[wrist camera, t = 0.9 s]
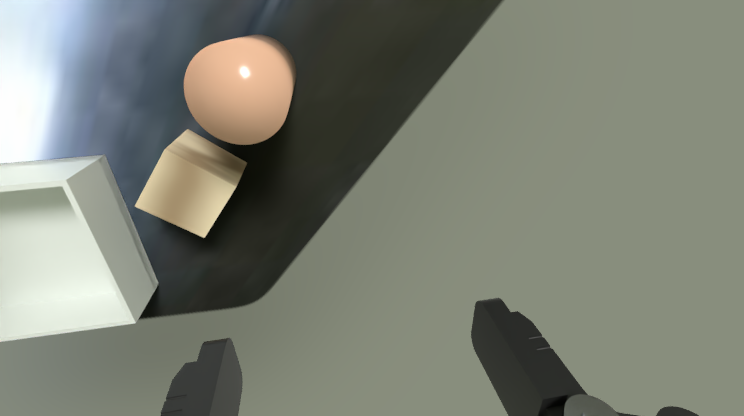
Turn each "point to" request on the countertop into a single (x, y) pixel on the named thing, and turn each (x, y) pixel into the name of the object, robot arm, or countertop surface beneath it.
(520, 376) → the robot arm
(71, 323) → the grey tote
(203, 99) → the terracotta cylinder
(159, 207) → the beech cube
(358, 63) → the countertop surface
